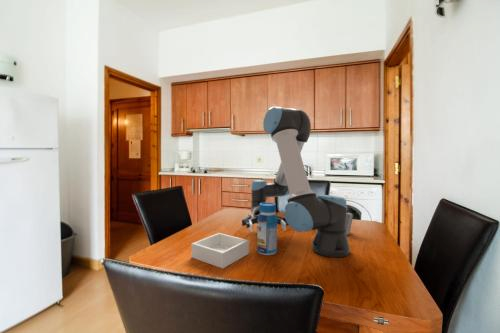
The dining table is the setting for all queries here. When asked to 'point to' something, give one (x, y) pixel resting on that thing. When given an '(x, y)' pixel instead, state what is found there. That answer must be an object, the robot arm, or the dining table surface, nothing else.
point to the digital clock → (348, 222)
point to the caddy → (220, 249)
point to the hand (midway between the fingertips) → (268, 227)
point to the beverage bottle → (267, 229)
